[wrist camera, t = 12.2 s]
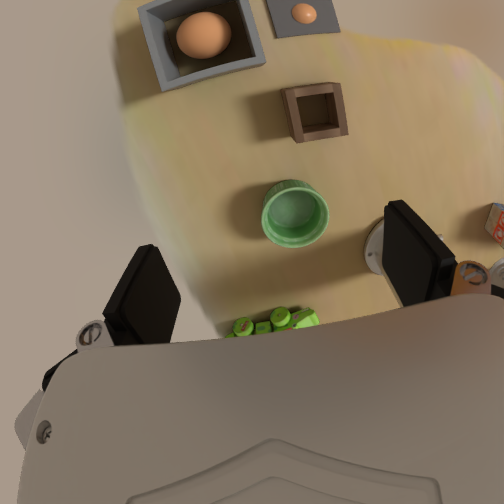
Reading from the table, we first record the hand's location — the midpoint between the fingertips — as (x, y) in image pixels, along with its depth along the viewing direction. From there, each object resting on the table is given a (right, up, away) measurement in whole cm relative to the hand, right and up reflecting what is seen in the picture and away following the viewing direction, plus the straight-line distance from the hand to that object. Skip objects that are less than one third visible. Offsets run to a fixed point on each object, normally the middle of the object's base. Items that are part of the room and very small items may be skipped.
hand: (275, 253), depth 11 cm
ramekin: (+5, +7, +28) cm, 29 cm away
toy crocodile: (+2, -13, +43) cm, 45 cm away
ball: (-6, +24, +12) cm, 27 cm away
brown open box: (+6, +18, +20) cm, 28 cm away
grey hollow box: (-6, +25, +14) cm, 30 cm away
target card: (+5, +29, +12) cm, 32 cm away
